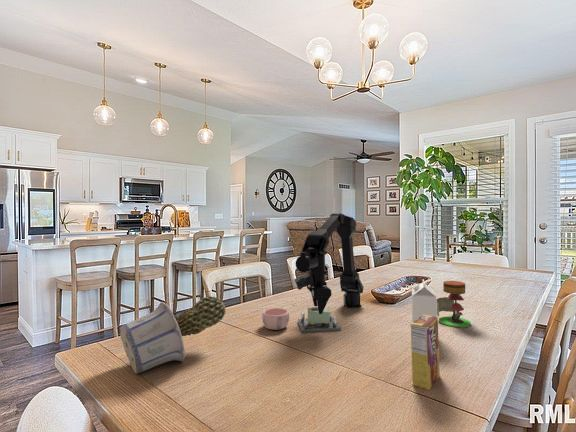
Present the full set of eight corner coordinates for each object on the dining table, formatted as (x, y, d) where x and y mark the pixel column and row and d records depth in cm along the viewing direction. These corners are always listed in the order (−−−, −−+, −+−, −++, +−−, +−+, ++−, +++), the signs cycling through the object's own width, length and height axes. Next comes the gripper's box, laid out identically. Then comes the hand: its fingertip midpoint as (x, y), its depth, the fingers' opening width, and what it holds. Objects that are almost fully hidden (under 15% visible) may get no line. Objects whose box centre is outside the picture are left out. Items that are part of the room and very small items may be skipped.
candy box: (422, 370, 88) (422, 313, 88) (440, 376, 85) (439, 317, 85) (410, 384, 81) (410, 323, 81) (429, 390, 79) (428, 326, 78)
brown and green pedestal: (476, 321, 125) (476, 281, 125) (467, 330, 116) (466, 287, 115) (443, 314, 133) (443, 277, 133) (432, 323, 124) (431, 283, 124)
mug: (293, 329, 120) (293, 313, 120) (267, 334, 116) (267, 317, 116) (281, 319, 131) (281, 304, 131) (257, 323, 127) (257, 308, 127)
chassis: (333, 320, 129) (333, 309, 129) (340, 330, 118) (340, 319, 118) (297, 321, 128) (297, 311, 128) (301, 332, 117) (301, 321, 117)
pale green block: (328, 318, 125) (328, 306, 125) (329, 322, 120) (329, 310, 120) (307, 318, 126) (307, 306, 126) (307, 322, 121) (307, 310, 121)
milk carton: (434, 335, 112) (434, 279, 111) (436, 344, 105) (436, 284, 105) (412, 333, 114) (411, 278, 114) (412, 341, 107) (412, 283, 107)
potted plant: (125, 331, 81) (229, 283, 100) (109, 317, 95) (204, 277, 113) (146, 395, 83) (244, 336, 102) (128, 372, 97) (217, 324, 116)
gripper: (292, 264, 131) (293, 303, 131) (299, 273, 112) (300, 319, 113) (320, 263, 132) (321, 302, 132) (331, 272, 114) (332, 317, 114)
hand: (318, 309), depth 123 cm, fingers open, 9 cm apart
